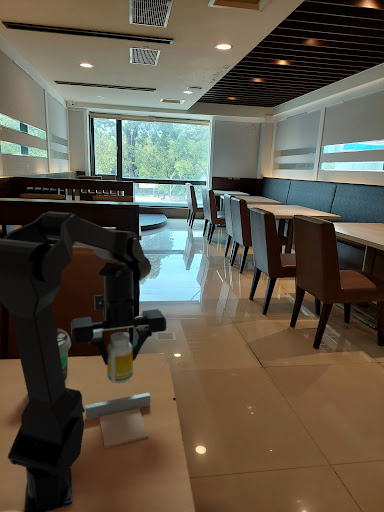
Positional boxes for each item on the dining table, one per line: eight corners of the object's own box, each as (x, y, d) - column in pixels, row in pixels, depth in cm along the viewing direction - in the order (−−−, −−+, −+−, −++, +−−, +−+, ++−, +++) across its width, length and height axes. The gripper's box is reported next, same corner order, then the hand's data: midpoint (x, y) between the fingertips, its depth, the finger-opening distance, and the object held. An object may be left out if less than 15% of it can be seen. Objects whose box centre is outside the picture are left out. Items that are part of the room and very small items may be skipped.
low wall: (150, 405, 72) (150, 395, 72) (86, 419, 68) (85, 408, 67) (149, 402, 73) (149, 392, 73) (85, 416, 69) (85, 405, 68)
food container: (50, 399, 73) (47, 357, 71) (26, 393, 75) (22, 352, 72) (83, 368, 85) (81, 331, 82) (61, 364, 86) (59, 327, 84)
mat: (148, 437, 64) (148, 435, 64) (104, 448, 61) (104, 446, 61) (139, 409, 71) (139, 408, 71) (99, 418, 68) (99, 416, 68)
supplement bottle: (102, 380, 72) (100, 338, 70) (116, 367, 77) (115, 328, 74) (124, 386, 70) (123, 344, 68) (137, 373, 75) (137, 333, 73)
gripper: (153, 277, 79) (153, 338, 83) (68, 283, 73) (71, 349, 76) (167, 293, 69) (166, 362, 73) (70, 302, 63) (74, 377, 66)
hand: (120, 361), depth 73 cm, fingers closed on supplement bottle, 5 cm apart
